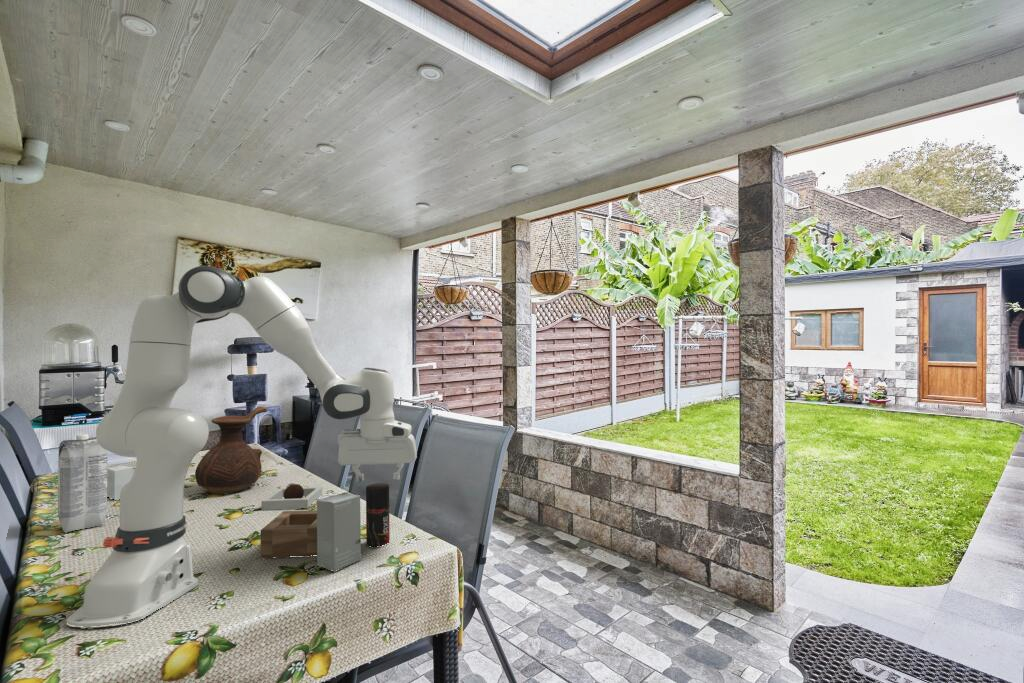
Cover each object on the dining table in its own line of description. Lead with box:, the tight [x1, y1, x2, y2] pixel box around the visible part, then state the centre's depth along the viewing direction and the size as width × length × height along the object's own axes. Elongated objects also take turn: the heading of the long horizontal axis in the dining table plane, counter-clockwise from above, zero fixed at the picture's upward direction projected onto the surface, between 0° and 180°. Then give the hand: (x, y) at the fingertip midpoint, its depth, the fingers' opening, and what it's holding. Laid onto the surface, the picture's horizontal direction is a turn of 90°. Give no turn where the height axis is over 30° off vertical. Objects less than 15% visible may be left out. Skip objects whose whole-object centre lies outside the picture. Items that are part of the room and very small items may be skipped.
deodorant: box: [365, 482, 391, 548], centre depth 127 cm, size 6×6×15 cm
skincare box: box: [316, 492, 362, 572], centre depth 115 cm, size 8×7×16 cm
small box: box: [107, 464, 134, 501], centre depth 170 cm, size 8×6×10 cm
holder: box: [260, 509, 317, 559], centre depth 125 cm, size 14×14×7 cm
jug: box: [194, 405, 267, 495], centre depth 179 cm, size 22×22×30 cm
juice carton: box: [57, 434, 108, 533], centre depth 141 cm, size 9×10×27 cm
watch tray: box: [261, 486, 323, 511], centre depth 162 cm, size 14×14×3 cm
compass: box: [283, 483, 304, 499], centre depth 161 cm, size 8×8×7 cm
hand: (378, 480), depth 127 cm, fingers open, 8 cm apart
